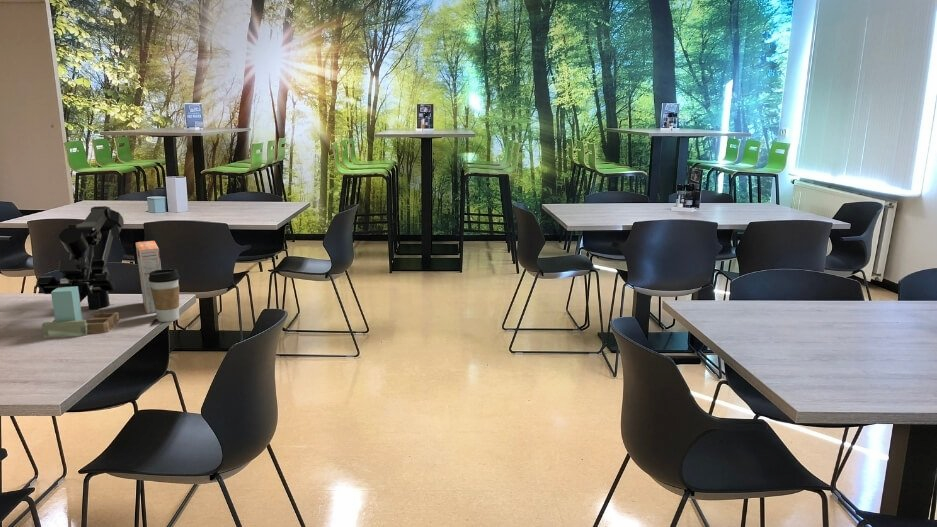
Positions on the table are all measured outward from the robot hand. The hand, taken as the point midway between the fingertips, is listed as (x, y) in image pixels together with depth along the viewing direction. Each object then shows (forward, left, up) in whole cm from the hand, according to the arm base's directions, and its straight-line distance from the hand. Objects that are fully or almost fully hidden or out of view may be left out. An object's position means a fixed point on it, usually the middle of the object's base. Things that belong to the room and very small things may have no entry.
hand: (71, 309), depth 182 cm
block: (+3, +1, -6) cm, 6 cm away
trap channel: (-1, +2, -7) cm, 7 cm away
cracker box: (-22, +12, -7) cm, 26 cm away
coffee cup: (-12, +21, -7) cm, 25 cm away
